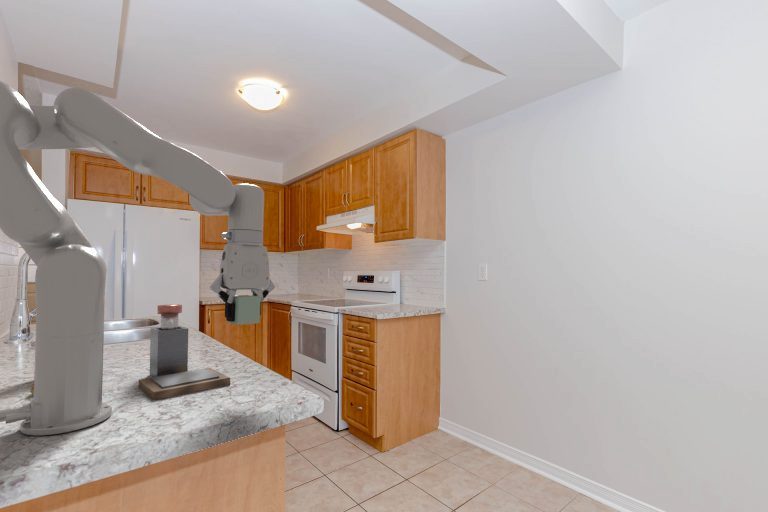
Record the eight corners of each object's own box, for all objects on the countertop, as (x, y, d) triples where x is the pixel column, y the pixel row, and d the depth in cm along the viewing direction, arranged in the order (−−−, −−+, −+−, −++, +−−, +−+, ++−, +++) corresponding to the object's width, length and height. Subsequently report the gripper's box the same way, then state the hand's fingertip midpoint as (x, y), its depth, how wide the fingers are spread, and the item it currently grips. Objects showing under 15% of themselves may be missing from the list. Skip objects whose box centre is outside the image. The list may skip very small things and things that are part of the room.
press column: (157, 380, 95) (158, 331, 95) (149, 374, 100) (150, 328, 100) (187, 374, 100) (188, 328, 100) (178, 370, 105) (179, 325, 105)
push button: (160, 342, 96) (161, 306, 96) (154, 339, 100) (154, 305, 100) (184, 340, 100) (185, 305, 100) (177, 337, 104) (178, 304, 104)
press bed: (153, 400, 80) (153, 390, 80) (138, 386, 89) (138, 378, 89) (230, 384, 91) (230, 375, 91) (209, 373, 100) (209, 366, 101)
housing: (237, 324, 82) (238, 296, 83) (226, 322, 87) (227, 294, 87) (259, 323, 86) (260, 295, 86) (247, 320, 90) (248, 294, 90)
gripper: (213, 235, 79) (210, 324, 78) (287, 241, 90) (285, 319, 90) (200, 237, 84) (197, 321, 83) (271, 243, 96) (269, 316, 95)
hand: (243, 319), depth 86 cm, fingers closed on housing, 5 cm apart
